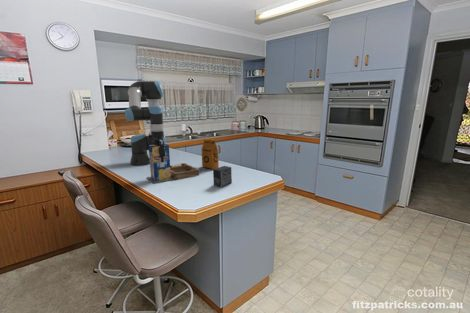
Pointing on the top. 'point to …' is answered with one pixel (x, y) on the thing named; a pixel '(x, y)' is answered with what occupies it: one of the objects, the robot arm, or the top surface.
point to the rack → (185, 167)
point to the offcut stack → (175, 165)
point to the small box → (222, 176)
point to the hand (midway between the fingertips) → (159, 165)
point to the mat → (160, 180)
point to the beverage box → (155, 168)
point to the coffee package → (210, 154)
